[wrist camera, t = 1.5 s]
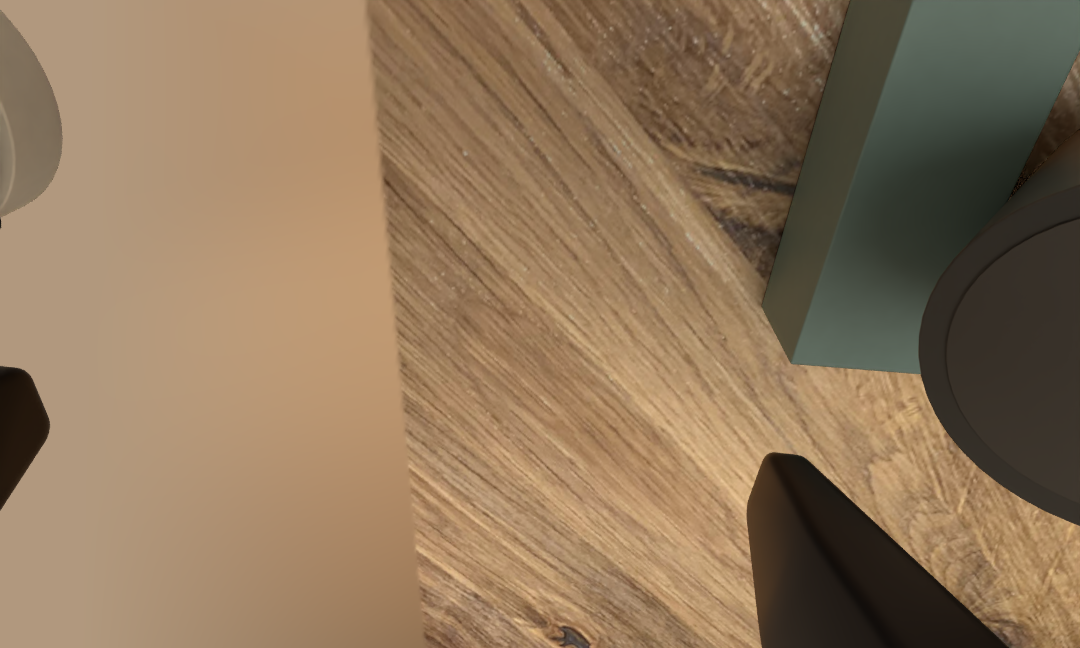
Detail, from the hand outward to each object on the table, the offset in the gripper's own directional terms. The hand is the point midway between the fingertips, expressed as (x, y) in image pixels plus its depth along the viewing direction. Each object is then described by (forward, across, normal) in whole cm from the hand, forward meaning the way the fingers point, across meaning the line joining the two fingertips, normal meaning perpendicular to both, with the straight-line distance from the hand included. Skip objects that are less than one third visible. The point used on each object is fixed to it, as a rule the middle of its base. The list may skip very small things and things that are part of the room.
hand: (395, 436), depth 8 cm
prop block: (+14, -11, 0) cm, 17 cm away
